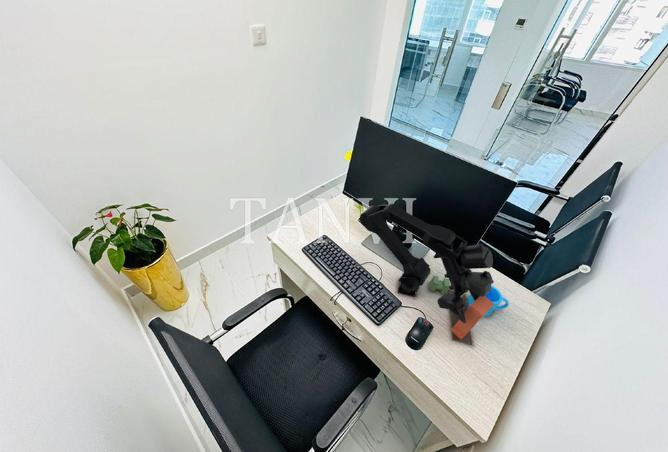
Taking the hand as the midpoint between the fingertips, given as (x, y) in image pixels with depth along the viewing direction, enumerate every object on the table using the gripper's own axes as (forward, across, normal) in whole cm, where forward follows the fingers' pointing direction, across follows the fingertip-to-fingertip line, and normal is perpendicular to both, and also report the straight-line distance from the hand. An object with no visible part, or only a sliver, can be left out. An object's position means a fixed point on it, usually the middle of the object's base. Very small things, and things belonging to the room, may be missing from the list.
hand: (472, 314), depth 78 cm
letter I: (+7, 0, +7) cm, 10 cm away
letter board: (+5, +5, +10) cm, 12 cm away
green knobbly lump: (-3, +8, +18) cm, 20 cm away
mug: (+8, +16, +7) cm, 19 cm away
